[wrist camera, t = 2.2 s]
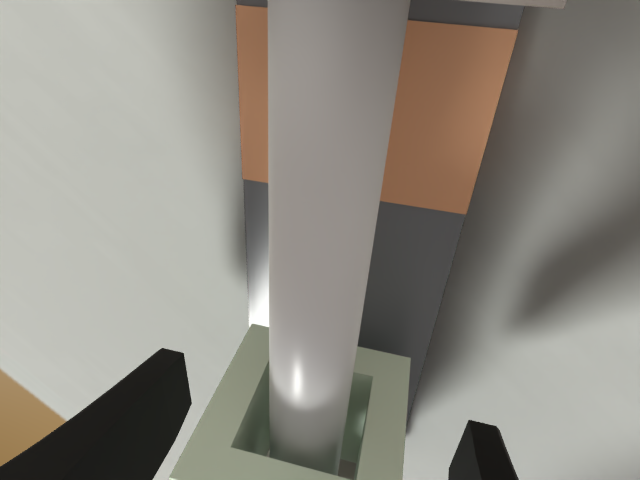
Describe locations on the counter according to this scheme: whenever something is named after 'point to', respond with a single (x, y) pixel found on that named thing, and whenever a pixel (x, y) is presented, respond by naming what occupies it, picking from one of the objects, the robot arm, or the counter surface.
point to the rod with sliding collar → (358, 186)
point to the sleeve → (253, 421)
